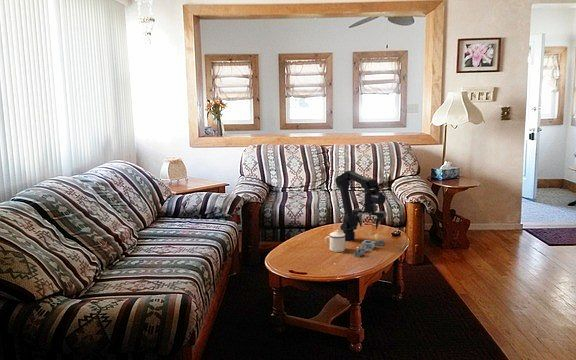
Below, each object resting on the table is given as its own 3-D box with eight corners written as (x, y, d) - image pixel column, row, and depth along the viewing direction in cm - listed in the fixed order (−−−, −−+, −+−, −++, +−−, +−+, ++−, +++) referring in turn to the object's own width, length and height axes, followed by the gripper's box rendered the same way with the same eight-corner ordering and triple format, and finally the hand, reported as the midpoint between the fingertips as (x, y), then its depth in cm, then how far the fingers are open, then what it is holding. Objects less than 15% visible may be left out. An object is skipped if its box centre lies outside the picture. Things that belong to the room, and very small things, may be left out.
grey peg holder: (369, 245, 284) (369, 236, 283) (370, 241, 292) (370, 232, 291) (383, 245, 282) (383, 237, 281) (383, 241, 290) (383, 233, 289)
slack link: (364, 252, 271) (364, 248, 270) (359, 252, 272) (359, 248, 271) (366, 250, 274) (366, 246, 274) (362, 250, 275) (362, 246, 275)
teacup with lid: (347, 248, 278) (347, 228, 276) (342, 253, 270) (342, 233, 268) (328, 245, 284) (328, 226, 282) (322, 250, 276) (322, 230, 274)
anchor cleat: (359, 257, 264) (359, 248, 263) (354, 256, 265) (354, 247, 264) (363, 254, 268) (363, 246, 267) (358, 253, 269) (358, 245, 269)
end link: (371, 250, 275) (371, 244, 274) (361, 248, 278) (361, 242, 277) (375, 247, 280) (375, 241, 280) (365, 245, 283) (365, 239, 283)
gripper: (390, 200, 277) (389, 226, 280) (359, 196, 286) (358, 222, 289) (383, 204, 267) (383, 231, 270) (351, 200, 276) (351, 227, 279)
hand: (368, 227), depth 277 cm, fingers open, 9 cm apart
